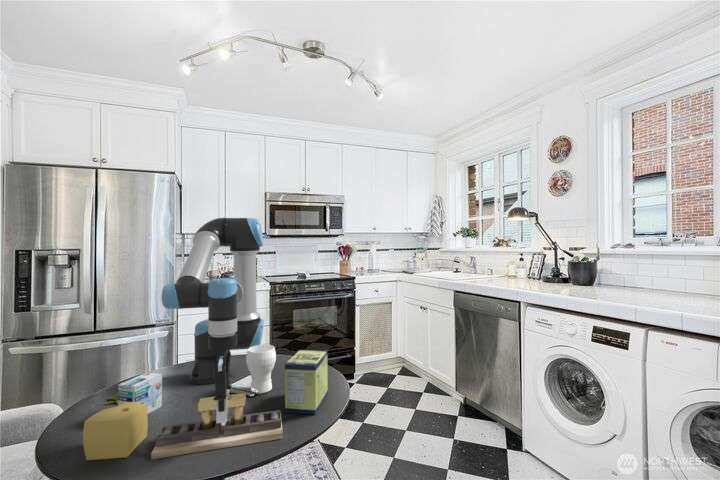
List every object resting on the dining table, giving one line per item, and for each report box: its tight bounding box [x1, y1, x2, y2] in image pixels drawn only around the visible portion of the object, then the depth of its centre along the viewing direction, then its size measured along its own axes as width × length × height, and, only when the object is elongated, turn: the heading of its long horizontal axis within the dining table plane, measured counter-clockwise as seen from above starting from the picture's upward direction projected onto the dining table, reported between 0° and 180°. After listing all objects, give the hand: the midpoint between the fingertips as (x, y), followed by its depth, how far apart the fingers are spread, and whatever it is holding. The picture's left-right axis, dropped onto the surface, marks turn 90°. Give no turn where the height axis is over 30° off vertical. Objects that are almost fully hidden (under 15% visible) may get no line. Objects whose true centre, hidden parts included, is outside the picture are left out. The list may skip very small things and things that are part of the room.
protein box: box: [284, 349, 329, 416], centre depth 113 cm, size 10×16×16 cm
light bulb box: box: [117, 372, 163, 415], centre depth 107 cm, size 11×7×11 cm, turn 166°
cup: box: [245, 344, 277, 394], centre depth 124 cm, size 11×11×15 cm
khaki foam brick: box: [197, 392, 247, 430], centre depth 94 cm, size 4×12×9 cm, turn 106°
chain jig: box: [150, 409, 284, 460], centre depth 94 cm, size 12×32×4 cm, turn 106°
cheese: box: [82, 402, 149, 461], centre depth 88 cm, size 10×11×10 cm
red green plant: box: [104, 393, 118, 405], centre depth 118 cm, size 12×12×5 cm
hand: (222, 417), depth 94 cm, fingers open, 4 cm apart
